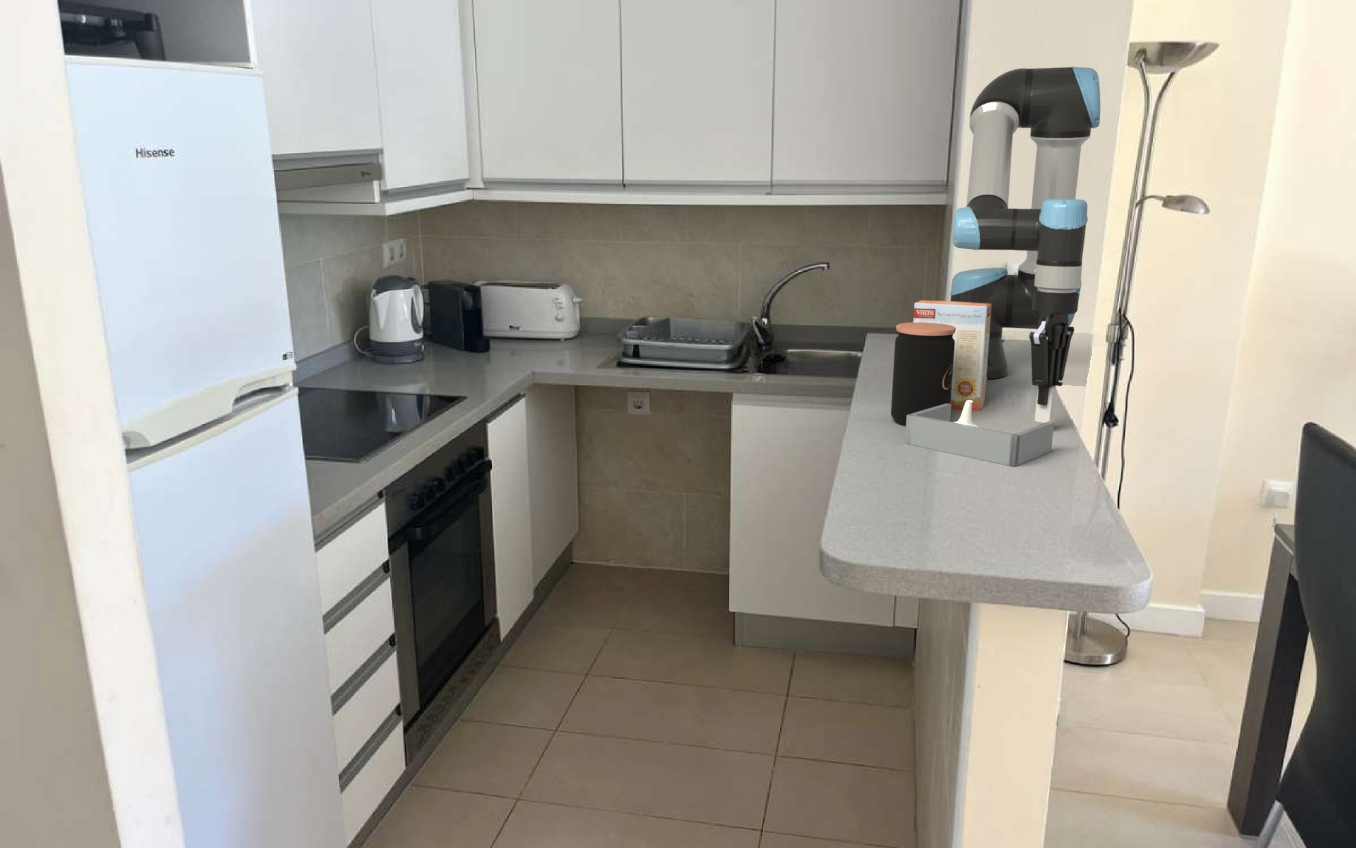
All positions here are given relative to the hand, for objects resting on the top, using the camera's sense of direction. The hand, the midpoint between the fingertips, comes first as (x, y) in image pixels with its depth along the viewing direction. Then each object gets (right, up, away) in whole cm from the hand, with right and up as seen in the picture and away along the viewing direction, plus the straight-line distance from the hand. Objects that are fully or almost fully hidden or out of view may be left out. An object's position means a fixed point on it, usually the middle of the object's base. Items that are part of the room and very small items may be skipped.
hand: (1043, 421), depth 179 cm
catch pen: (-15, -4, -10) cm, 19 cm away
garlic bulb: (-17, -4, -9) cm, 20 cm away
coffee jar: (-20, 0, +7) cm, 22 cm away
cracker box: (-12, +3, +20) cm, 24 cm away
